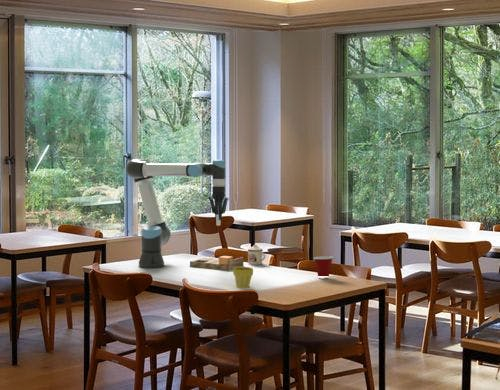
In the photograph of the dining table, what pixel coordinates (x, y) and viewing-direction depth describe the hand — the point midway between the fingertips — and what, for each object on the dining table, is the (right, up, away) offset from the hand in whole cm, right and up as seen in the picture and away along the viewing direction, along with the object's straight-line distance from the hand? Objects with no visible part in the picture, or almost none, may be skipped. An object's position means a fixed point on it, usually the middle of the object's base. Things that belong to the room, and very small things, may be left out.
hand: (218, 225), depth 547 cm
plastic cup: (+60, -28, -37) cm, 75 cm away
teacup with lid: (+23, -24, +10) cm, 35 cm away
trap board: (-1, -25, 0) cm, 25 cm away
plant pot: (+15, -30, -65) cm, 74 cm away
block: (+5, -22, -9) cm, 24 cm away
